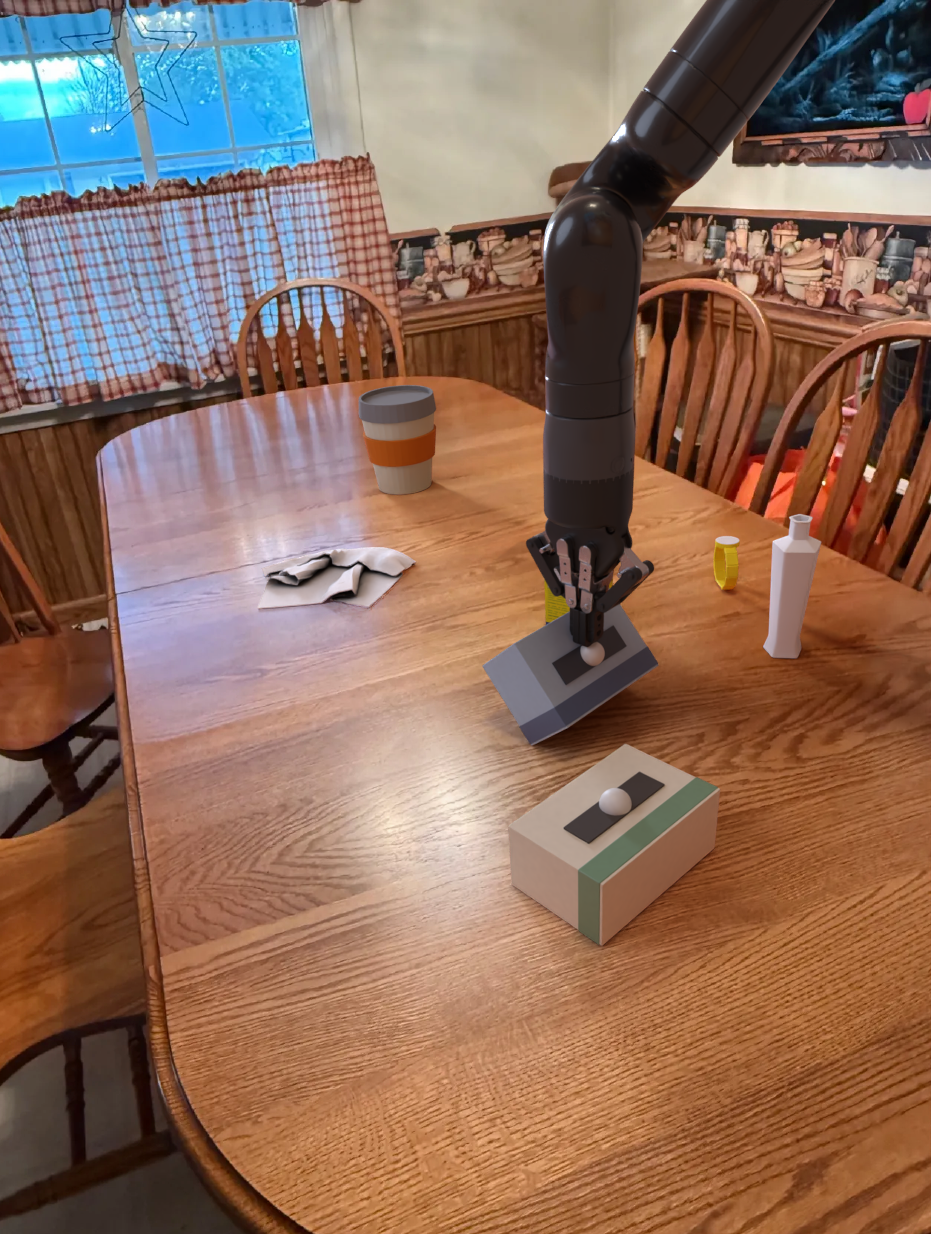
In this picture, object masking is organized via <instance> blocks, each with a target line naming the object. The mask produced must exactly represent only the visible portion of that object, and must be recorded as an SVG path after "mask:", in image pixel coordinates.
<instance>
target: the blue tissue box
mask: <svg viewBox="0 0 931 1234" xmlns="http://www.w3.org/2000/svg"><path fill="white" fill-rule="evenodd" d="M659 666H660V664H659V662H658V660H657V659H656V656H654V653H653V652H652V651H651V649H650V647H649V645H647V644H646V642H645V641H644V639H643V638H642V636H641V634H640V633H639V631H638V629H637V628H636V627H635V625H634V624H633V622H632V620H631V619H630V617H629V616H628V614H627V612H626V611H625V609H624V608H623V606H622V605H621V603H620V604H619V605H617V606H615V607H614V608H612V609H610V610H609V611H607V612H605V613H604V633H603V636H602V637H601V638H600V639H599V640H598V641H597V642H595V643H593V644H592V645H591V646H589V647H585V646H582V645H580V644H577V643H575V642H573V636H572V635H571V632H570V611H569V612H568V613H566V614H564V615H563V616H561V617H559V618H557V619H556V620H554V621H552V622H550V623H549V624H547V625H546V624H545V625H543V626H542V627H540V628H538V629H536V630H535V631H532V632H531V633H529V634H528V635H526V636H523V638H520V639H519V640H518V641H516V642H514V643H512V644H511V645H510V646H508V647H506V648H505V649H504V650H502V651H501V652H499V653H498V654H497V655H495V656H494V657H493V658H491V659H490V660H488V661H487V662H485V663H484V664H483V665H482V668H483V670H484V672H485V673H486V675H487V676H488V678H489V680H490V681H491V683H492V684H493V686H494V688H495V689H496V691H497V692H498V694H499V695H500V697H501V699H502V701H503V703H504V704H505V705H506V707H507V708H508V710H509V712H510V714H511V715H512V717H513V718H514V720H515V722H516V723H517V725H518V728H519V729H520V731H521V732H522V734H523V736H524V737H525V739H526V741H527V743H528V744H529V745H530V746H535V745H536V744H538V743H541V742H542V741H545V740H547V739H549V738H550V737H552V736H555V735H556V734H558V733H560V732H563V731H565V730H566V729H567V730H568V729H569V728H570V727H571V726H573V725H574V724H576V723H577V722H579V721H580V720H582V719H583V718H585V717H586V716H588V715H589V714H591V713H592V712H593V711H595V710H596V709H598V708H599V707H601V706H602V705H603V704H605V703H606V702H608V701H609V700H610V699H613V697H615V696H617V695H618V694H620V693H621V692H623V691H624V690H626V689H627V688H628V687H630V686H631V685H633V684H634V683H636V682H637V681H639V680H640V679H642V678H643V677H644V676H646V675H647V674H649V673H650V672H652V671H653V670H655V669H656V668H658V667H659Z"/></svg>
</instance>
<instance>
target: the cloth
mask: <svg viewBox="0 0 931 1234" xmlns="http://www.w3.org/2000/svg"><path fill="white" fill-rule="evenodd" d="M416 564H417V561H416V560H415V559H413V558H412V557H410V556H409V555H407V554H405V553H403V552H402V551H399V550H397V549H394V548H390V547H384V546H375V547H374V546H370V547H367V546H366V547H365V546H363V547H362V546H361V547H358V548H349V549H348V548H336V549H326V550H321V551H318V552H316V553H310V554H304V555H302V556H299V557H294V558H287V559H285V560H282V561H279V562H277V563H272V564H270V565H267V566H265V567H261V571H262V574H263V575H264V577H265V578H266V577H267V576H270V578H268V579H267V581H266V584H265V587H264V590H263V592H262V595H261V597H260V600H259V602H258V605H257V610H263V609H276V608H286V607H299V606H312V605H319V604H323V603H324V602H325V601H327V600H329V601H332V602H336V603H337V602H338V603H344V604H347V605H351V606H357V607H364V608H370V607H372V606H373V605H374V604H375V603H376V602H377V601H378V600H379V599H380V598H382V597H383V596H384V595H385V594H386V593H387V592H388V591H389V590H390V589H392V587H393V586H394V585H396V584H397V582H399V580H400V579H402V577H403V574H404V573H403V571H406V570H408V569H409V568H411V567H413V566H415V565H416ZM329 598H330V599H329Z"/></svg>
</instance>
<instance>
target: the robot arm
mask: <svg viewBox="0 0 931 1234" xmlns="http://www.w3.org/2000/svg"><path fill="white" fill-rule="evenodd" d="M835 1H836V0H705V2H704V3H703V4H702V6H701V7H700V8H699V9H698V11H697V12H696V13H695V15H694V16H693V18H692V19H691V20H690V22H689V23H688V24H687V26H686V27H685V28H684V30H683V31H682V32H681V34H680V35H679V37H678V38H677V40H675V42H674V43H673V45H672V47H671V48H669V51H668V52H667V53H666V55H665V56H664V58H663V59H662V61H660V63H659V65H658V66H657V68H656V69H655V70H654V72H653V73H652V75H651V76H650V78H649V79H648V81H647V82H646V83H645V85H644V86H643V88H642V90H640V92H639V94H637V96H636V98H635V100H634V101H633V102H632V103H631V106H630V108H629V109H628V111H627V113H626V114H625V116H624V118H623V119H622V121H621V122H620V124H619V126H618V128H617V130H616V131H615V133H614V134H613V136H611V138H610V139H609V140H608V141H607V142H606V143H605V145H604V146H603V147H602V149H601V150H600V151H599V152H598V154H597V155H596V156H595V157H594V158H593V159H592V161H591V162H590V163H589V164H588V166H587V167H586V168H585V170H584V171H583V172H582V173H581V174H580V176H579V177H578V178H577V180H576V181H575V183H574V184H573V185H572V187H571V188H570V189H569V190H568V191H567V193H566V194H565V196H564V197H563V198H562V199H561V201H560V202H559V204H558V205H557V207H556V208H555V210H554V211H553V213H552V214H551V216H550V218H549V220H548V222H547V224H546V228H545V231H544V238H543V249H542V250H543V252H542V255H543V256H542V257H543V258H542V260H543V278H544V279H543V280H544V295H545V296H544V297H545V298H544V299H545V300H544V301H545V313H546V327H547V340H548V341H547V347H546V353H545V365H544V366H545V368H544V387H545V388H544V390H545V392H544V393H545V397H544V398H545V401H544V402H545V403H544V404H545V416H544V424H543V434H542V470H543V471H542V474H543V476H542V477H543V478H542V479H543V514H544V515H545V517H546V518H547V520H546V521H545V524H544V530H543V531H541V532H538V533H537V534H535V535H532V537H529V538H527V539H526V541H525V546H526V548H527V550H528V552H529V554H530V556H531V557H532V559H533V561H534V563H535V566H536V567H537V568H538V570H539V572H540V575H541V576H542V577H543V580H544V579H545V581H546V583H547V585H548V587H549V588H550V590H551V592H552V594H553V595H554V596H556V597H558V596H560V595H561V596H562V597H563V598H565V599H566V603H567V605H568V606H569V607H570V632H571V635H572V636H573V642H575V643H577V644H580V645H582V646H585V647H589V646H591V645H592V644H593V643H595V642H597V641H598V640H599V639H600V638H601V637H602V636H603V633H604V613H605V612H607V611H609V610H610V609H612V608H614V607H615V606H617V605H619V604H620V605H621V604H622V603H623V602H625V600H626V599H628V598H629V596H631V594H632V593H634V592H635V590H636V589H638V588H639V586H641V585H642V584H643V582H645V581H646V579H648V577H650V576H651V575H652V574H653V572H654V571H655V565H654V563H653V562H652V561H651V560H648V559H646V560H643V561H642V560H641V559H640V558H639V557H638V555H637V554H636V553H635V552H634V551H633V549H632V548H633V537H632V535H631V532H630V529H629V523H630V519H631V517H632V513H633V508H634V507H633V506H634V505H633V504H634V484H635V460H636V459H635V457H636V423H635V414H634V413H635V411H634V402H635V379H636V378H635V377H636V375H635V374H636V372H635V371H636V355H635V341H634V338H635V331H636V325H637V318H638V309H639V302H640V295H641V294H640V292H641V285H642V283H641V282H642V272H643V271H642V270H643V255H644V254H643V253H644V252H643V251H644V250H643V247H644V246H643V245H644V242H645V241H646V240H647V238H648V237H649V236H650V235H651V233H652V232H653V230H655V228H656V227H657V225H658V224H660V222H661V220H662V219H663V218H664V216H665V215H666V213H667V212H669V210H670V209H671V208H672V206H673V205H674V203H676V201H677V200H678V198H679V197H680V196H681V195H683V194H684V193H685V192H687V191H689V190H690V189H692V188H693V187H694V186H695V185H697V184H698V183H699V182H700V181H701V179H703V178H704V176H705V175H707V173H708V172H709V171H710V170H711V169H712V167H713V166H714V165H715V164H716V162H718V160H719V158H721V156H722V155H723V154H724V153H725V151H726V150H727V148H728V147H729V146H730V145H731V144H732V142H733V141H734V140H735V139H736V137H737V136H738V134H739V133H740V132H741V131H742V129H743V128H744V127H745V125H746V124H747V123H748V121H749V120H750V119H751V117H752V116H753V115H754V114H755V113H756V111H757V110H758V109H759V108H760V106H761V104H762V103H763V102H764V100H765V99H766V98H767V97H768V96H769V94H770V92H771V91H772V90H773V89H774V87H775V86H776V84H777V83H778V81H779V80H780V78H781V77H783V75H784V73H786V71H787V69H788V68H789V66H790V65H791V63H792V62H793V61H794V59H795V58H796V56H797V55H798V53H799V52H800V51H801V49H802V47H803V46H804V45H805V43H806V42H807V40H808V39H809V38H810V36H811V35H812V33H813V32H814V31H815V29H816V28H817V26H818V25H819V23H820V22H821V21H822V20H823V18H824V16H825V15H826V14H827V13H828V11H829V9H830V8H831V7H832V6H833V4H834V3H835ZM619 564H620V566H619V568H618V572H617V573H616V578H618V579H617V581H616V582H615V583H613V586H612V587H611V588H610V589H609V584H610V582H611V581H612V579H613V580H614V572H615V569H616V568H617V567H618V565H619ZM554 568H555V569H557V571H558V573H559V575H560V576H561V580H559V578H558V577H557V575H556V573H555V571H554Z"/></svg>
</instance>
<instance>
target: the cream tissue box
mask: <svg viewBox="0 0 931 1234" xmlns="http://www.w3.org/2000/svg"><path fill="white" fill-rule="evenodd" d="M720 796H721V788H720V787H718V786H717V785H714V784H712V783H710V782H709V781H706V780H704V779H702V778H700V777H698V776H694V775H692V774H690V773H688V772H686V771H684V770H681V769H679V768H677V767H675V766H674V765H671V764H669V763H667V762H666V761H663V760H661V759H659V758H656V757H654V756H653V755H650V754H648V753H646V752H644V751H642V750H640V749H638V748H636V747H633V746H632V745H629V744H627V743H623V744H622V745H621V746H620V747H618V748H617V749H615V750H614V751H612V752H611V753H610V754H609V755H607V756H605V757H604V758H603V759H601V760H599V761H598V762H597V763H595V764H594V765H593V766H591V767H590V768H589V769H587V770H586V771H584V772H582V773H581V774H580V775H578V776H577V777H576V778H574V779H572V780H571V781H570V782H568V783H567V784H565V785H564V786H563V787H561V788H560V789H559V790H556V791H555V792H554V793H553V794H551V795H549V796H548V797H547V798H545V799H544V800H543V801H541V802H539V804H536V805H535V806H534V807H533V808H531V809H530V810H528V811H527V812H526V813H524V814H522V815H521V816H520V817H518V818H517V819H516V820H514V821H512V822H511V823H510V824H508V825H507V835H508V850H509V851H508V852H509V853H508V854H509V868H510V870H509V871H510V883H511V885H512V886H513V887H515V888H516V889H517V890H519V891H521V892H522V893H523V894H525V895H526V896H528V897H529V898H531V900H534V901H535V902H537V903H538V904H539V905H541V906H543V907H544V908H545V909H546V910H548V911H550V912H551V913H553V914H554V915H556V916H557V917H558V918H560V919H561V920H563V921H564V922H566V923H567V924H569V925H570V926H571V927H573V928H574V929H576V930H577V931H578V932H579V933H580V934H582V935H584V936H585V937H586V938H588V939H589V940H591V941H592V942H593V943H595V944H596V945H598V946H601V947H603V946H604V945H605V944H606V943H607V942H609V941H610V940H611V939H612V938H613V937H614V936H615V935H616V934H618V933H619V932H620V931H621V930H622V929H623V928H625V926H627V925H628V924H630V923H631V921H633V920H634V919H635V918H636V917H637V916H639V914H641V913H642V912H643V911H644V910H645V909H646V908H647V907H649V906H650V905H652V903H653V902H654V901H656V900H657V899H658V898H659V897H660V896H661V895H662V894H664V893H665V892H666V891H667V890H668V889H669V888H670V887H672V886H673V885H674V884H675V883H676V882H677V881H679V880H680V879H681V878H682V877H683V876H684V875H685V874H687V873H688V872H689V871H690V870H691V869H692V868H694V867H695V866H696V865H697V864H698V863H699V862H700V861H701V860H702V859H704V858H705V857H706V856H707V855H708V854H709V853H710V852H712V851H713V850H714V849H715V848H716V840H717V839H716V838H717V828H718V827H717V826H718V819H719V817H718V816H719V807H720V798H721V797H720Z"/></svg>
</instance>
